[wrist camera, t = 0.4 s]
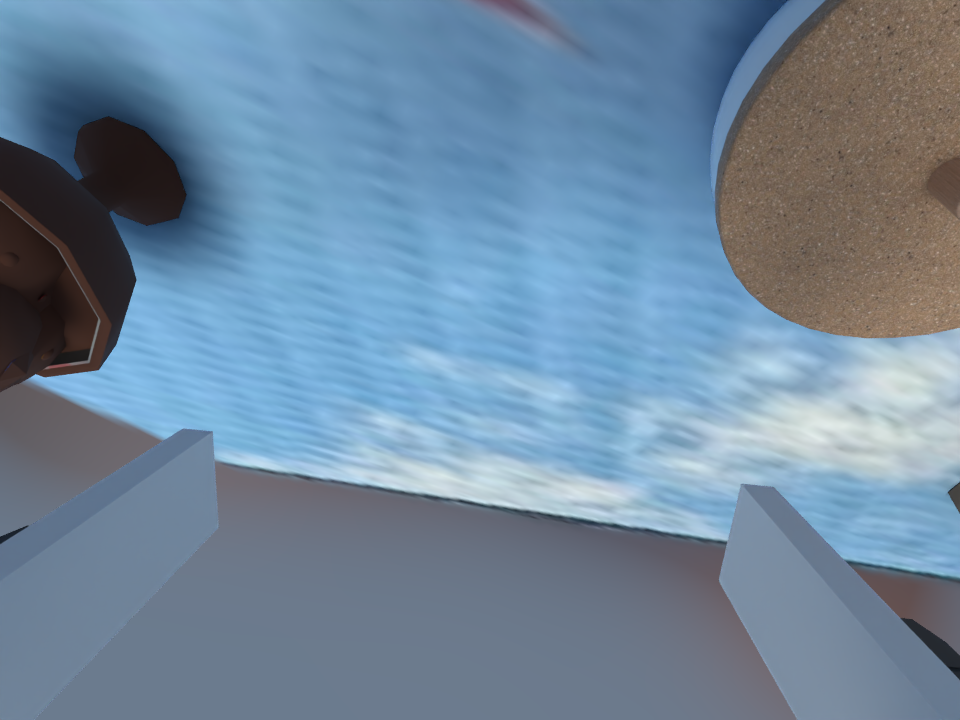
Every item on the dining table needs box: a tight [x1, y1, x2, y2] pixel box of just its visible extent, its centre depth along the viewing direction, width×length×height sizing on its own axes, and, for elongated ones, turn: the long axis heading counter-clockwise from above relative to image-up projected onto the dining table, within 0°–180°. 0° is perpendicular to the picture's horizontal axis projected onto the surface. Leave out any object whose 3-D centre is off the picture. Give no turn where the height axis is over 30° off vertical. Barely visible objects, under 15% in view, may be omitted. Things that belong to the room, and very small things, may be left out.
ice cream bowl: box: [0, 116, 186, 392], centre depth 21 cm, size 11×11×15 cm
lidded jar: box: [710, 0, 960, 338], centre depth 15 cm, size 11×11×9 cm
